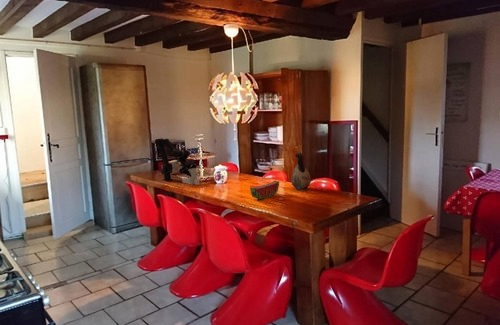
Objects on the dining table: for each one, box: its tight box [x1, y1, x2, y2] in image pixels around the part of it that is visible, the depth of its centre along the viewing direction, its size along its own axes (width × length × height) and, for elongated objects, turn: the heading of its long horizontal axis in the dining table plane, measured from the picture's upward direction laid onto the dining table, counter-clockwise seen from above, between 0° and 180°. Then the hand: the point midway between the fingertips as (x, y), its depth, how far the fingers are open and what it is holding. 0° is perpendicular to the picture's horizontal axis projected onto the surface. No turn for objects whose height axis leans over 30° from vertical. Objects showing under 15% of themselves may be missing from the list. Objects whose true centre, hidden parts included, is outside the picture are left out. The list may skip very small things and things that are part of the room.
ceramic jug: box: [290, 152, 312, 192], centre depth 288 cm, size 17×15×30 cm
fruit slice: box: [249, 180, 280, 200], centre depth 273 cm, size 26×6×10 cm, turn 134°
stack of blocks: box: [168, 159, 182, 176], centre depth 376 cm, size 21×6×12 cm, turn 140°
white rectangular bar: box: [181, 177, 200, 186], centre depth 327 cm, size 18×2×4 cm, turn 55°
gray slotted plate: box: [188, 168, 198, 185], centre depth 324 cm, size 6×3×13 cm, turn 144°
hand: (193, 175), depth 323 cm, fingers closed on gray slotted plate, 6 cm apart
